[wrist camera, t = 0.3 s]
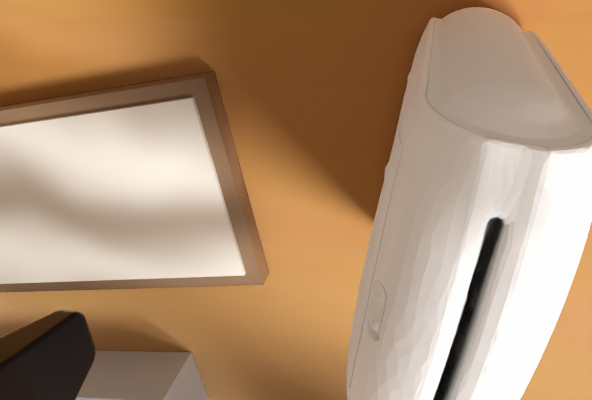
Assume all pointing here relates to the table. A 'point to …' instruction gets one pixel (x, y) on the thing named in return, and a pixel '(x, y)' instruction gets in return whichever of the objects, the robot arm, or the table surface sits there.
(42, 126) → the drawing board
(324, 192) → the table surface
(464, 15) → the photo printer
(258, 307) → the table surface
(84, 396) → the grey rectangular block
